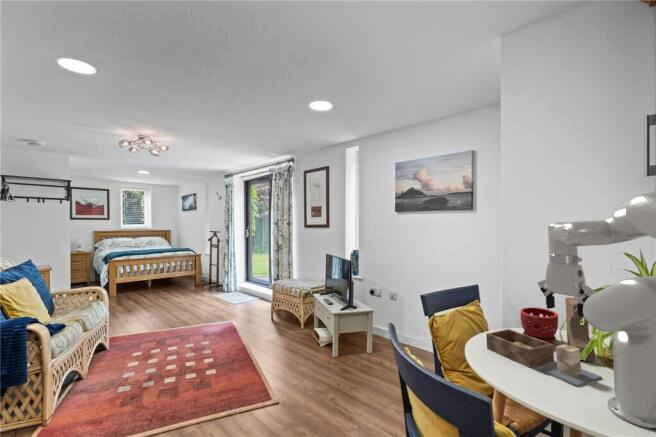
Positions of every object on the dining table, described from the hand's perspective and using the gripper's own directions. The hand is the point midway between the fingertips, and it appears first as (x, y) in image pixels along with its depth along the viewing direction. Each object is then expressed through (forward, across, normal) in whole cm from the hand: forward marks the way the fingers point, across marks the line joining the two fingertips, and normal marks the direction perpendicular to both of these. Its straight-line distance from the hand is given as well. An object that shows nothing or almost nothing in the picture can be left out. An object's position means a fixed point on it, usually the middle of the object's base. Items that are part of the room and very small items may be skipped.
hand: (565, 311), depth 103 cm
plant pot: (+21, +23, -19) cm, 36 cm away
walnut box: (+20, +17, +1) cm, 26 cm away
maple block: (+20, 0, 0) cm, 20 cm away
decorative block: (+21, +7, -18) cm, 28 cm away
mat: (+20, 0, 0) cm, 20 cm away
